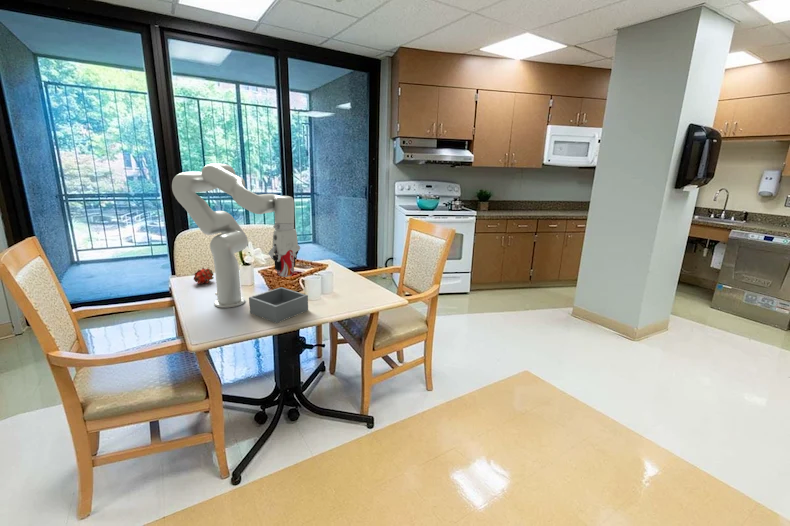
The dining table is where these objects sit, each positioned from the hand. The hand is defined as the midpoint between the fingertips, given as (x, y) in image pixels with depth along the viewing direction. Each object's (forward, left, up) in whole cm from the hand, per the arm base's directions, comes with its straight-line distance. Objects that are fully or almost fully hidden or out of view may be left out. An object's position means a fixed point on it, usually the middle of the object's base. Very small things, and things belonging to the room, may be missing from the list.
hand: (285, 267), depth 154 cm
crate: (-1, -3, -19) cm, 19 cm away
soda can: (0, 0, -3) cm, 3 cm away
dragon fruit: (-61, -2, -19) cm, 64 cm away
